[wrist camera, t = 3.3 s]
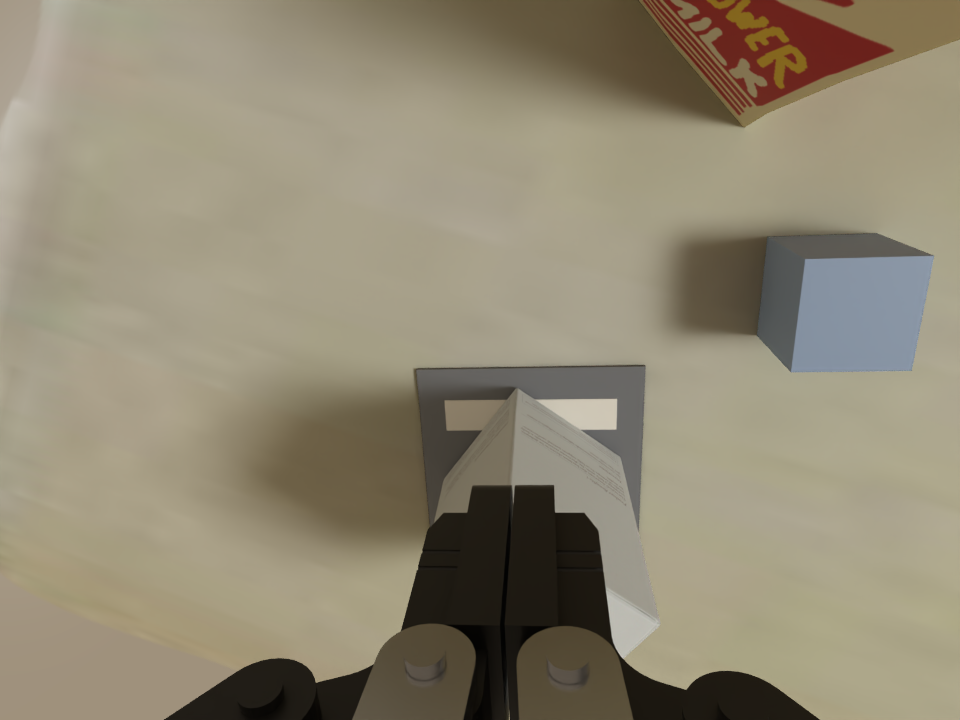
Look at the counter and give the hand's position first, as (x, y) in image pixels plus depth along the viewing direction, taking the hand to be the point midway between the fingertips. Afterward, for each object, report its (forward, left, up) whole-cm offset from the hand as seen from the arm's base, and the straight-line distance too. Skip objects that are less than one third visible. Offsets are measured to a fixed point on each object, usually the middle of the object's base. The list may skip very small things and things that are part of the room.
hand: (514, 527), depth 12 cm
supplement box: (+12, 0, -23) cm, 26 cm away
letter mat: (+12, 0, -23) cm, 26 cm away
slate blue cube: (+2, +14, -23) cm, 27 cm away
